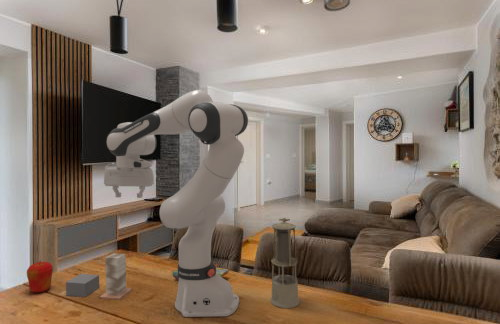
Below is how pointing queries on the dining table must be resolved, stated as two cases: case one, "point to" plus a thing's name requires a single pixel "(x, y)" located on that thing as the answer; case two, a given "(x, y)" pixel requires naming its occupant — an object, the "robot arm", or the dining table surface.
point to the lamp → (283, 284)
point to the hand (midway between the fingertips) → (129, 197)
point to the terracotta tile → (116, 296)
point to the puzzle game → (218, 271)
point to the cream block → (115, 274)
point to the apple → (39, 276)
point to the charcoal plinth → (82, 285)
